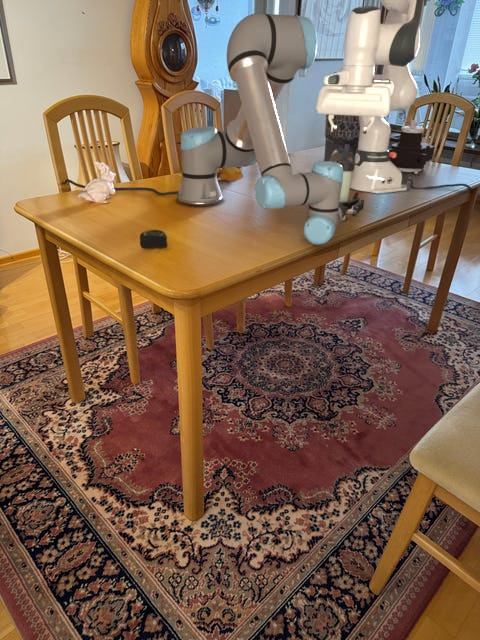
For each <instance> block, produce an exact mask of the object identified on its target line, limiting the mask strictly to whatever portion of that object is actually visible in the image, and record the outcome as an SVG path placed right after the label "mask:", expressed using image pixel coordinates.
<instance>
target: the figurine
mask: <svg viewBox="0 0 480 640" xmlns="http://www.w3.org/2000/svg"><path fill="white" fill-rule="evenodd" d="M93 164H94V166H95V167H96V168H97V169H98V170H99V174H100V176H99V177H100V178H93V179H91V180H90V181H89V182H88V183H86V185H85V186H86V187H85V188H82V192H80V193H78V195H77V197H78V198H79V199H81V200H83V199H84V200H87V202H88V201H90V202H94V203H95V204H96V203H97V204H98V203H100V204H107V203H108V201H106V199H109V198H111V196H110V195H115V194H116V191H115V190H114V188H115V187H114V186H115V185H114V181H115V177H116V175H117V174H116V173H115V172H113V171H111V170H110V167H109V165H108V164H106V163H105V162H103V161H101V162H99V161H96V160H95V161H94V162H93Z"/></svg>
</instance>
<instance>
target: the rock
mask: <svg viewBox="0 0 480 640" xmlns="http://www.w3.org/2000/svg"><path fill="white" fill-rule="evenodd" d="M335 152H337V153H342V147H340V148H338V149H336V150H335ZM348 154H352V153H351V151H350V150H349V152H348Z"/></svg>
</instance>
